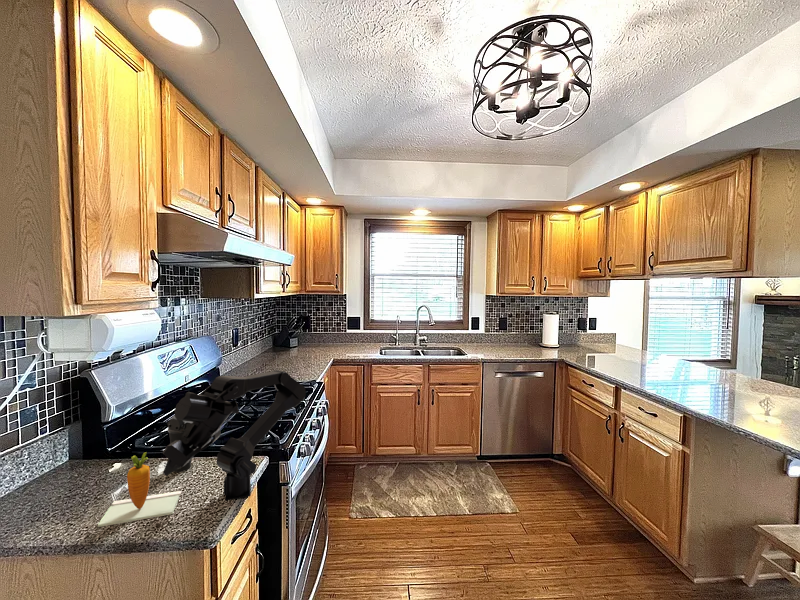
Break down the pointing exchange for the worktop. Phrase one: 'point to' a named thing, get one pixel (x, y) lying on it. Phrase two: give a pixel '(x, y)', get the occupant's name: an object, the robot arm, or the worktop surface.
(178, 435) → the drinking cup
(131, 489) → the carrot
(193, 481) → the worktop surface
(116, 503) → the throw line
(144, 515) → the mat
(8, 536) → the worktop surface
